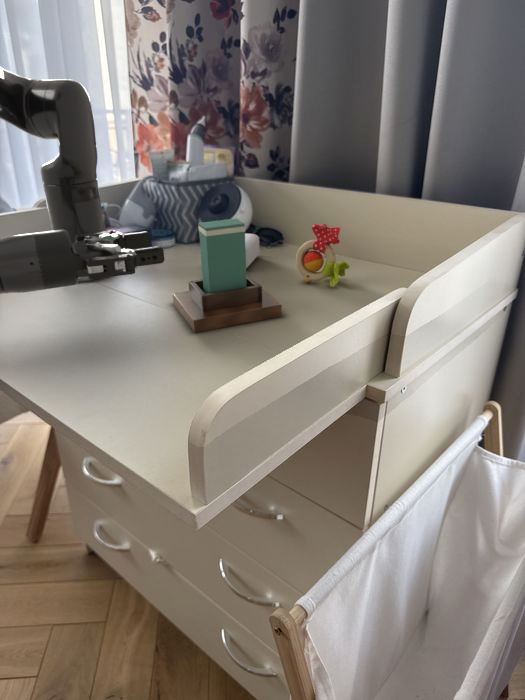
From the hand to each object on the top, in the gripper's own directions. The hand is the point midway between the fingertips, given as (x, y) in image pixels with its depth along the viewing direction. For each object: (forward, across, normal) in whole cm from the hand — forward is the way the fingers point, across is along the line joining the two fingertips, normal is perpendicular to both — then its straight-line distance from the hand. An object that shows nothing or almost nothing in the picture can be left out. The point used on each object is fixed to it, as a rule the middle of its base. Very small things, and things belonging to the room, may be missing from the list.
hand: (156, 246), depth 78 cm
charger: (+18, +20, +12) cm, 29 cm away
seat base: (+10, 0, +12) cm, 15 cm away
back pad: (+10, 0, +10) cm, 14 cm away
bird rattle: (+30, +4, +12) cm, 32 cm away
